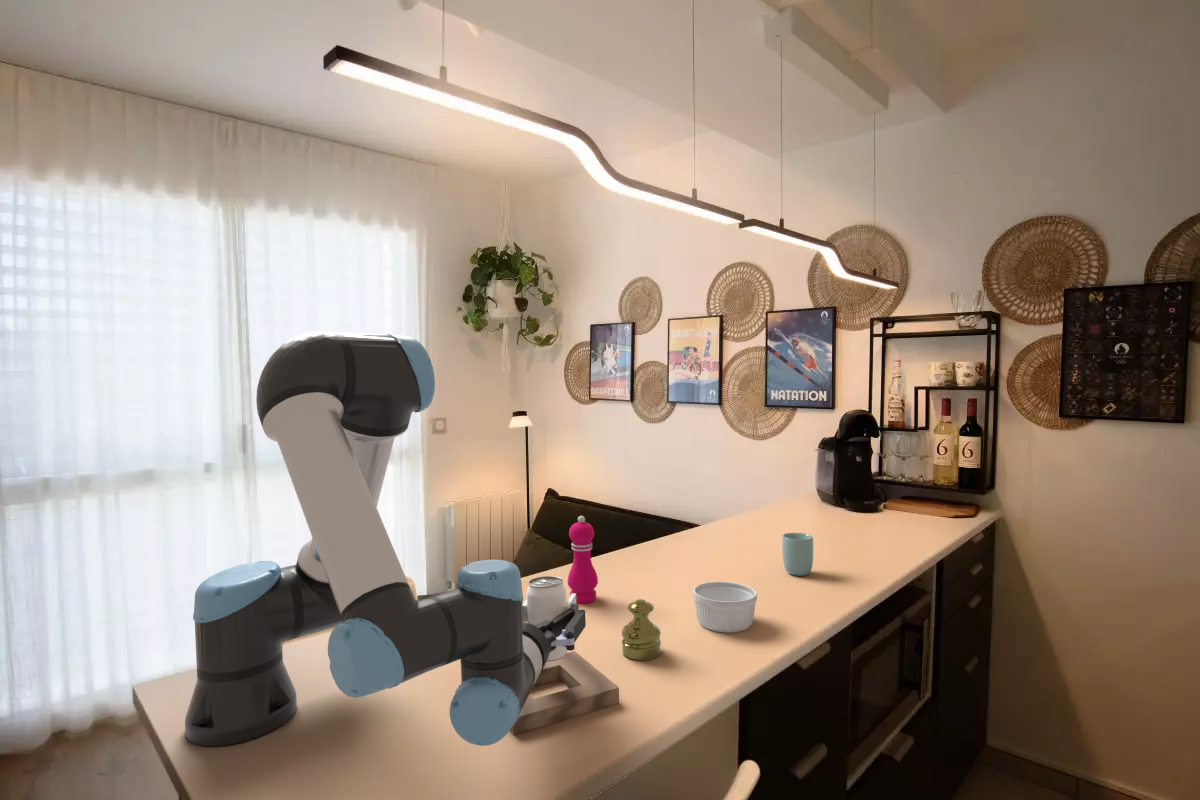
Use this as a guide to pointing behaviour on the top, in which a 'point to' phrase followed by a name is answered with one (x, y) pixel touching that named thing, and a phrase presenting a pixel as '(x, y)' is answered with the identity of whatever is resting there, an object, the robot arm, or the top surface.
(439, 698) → the top surface
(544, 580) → the can
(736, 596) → the ramekin
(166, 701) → the top surface
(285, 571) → the robot arm
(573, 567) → the pepper mill
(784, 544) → the cup
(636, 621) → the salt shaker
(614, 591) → the top surface
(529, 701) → the frame
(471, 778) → the top surface
